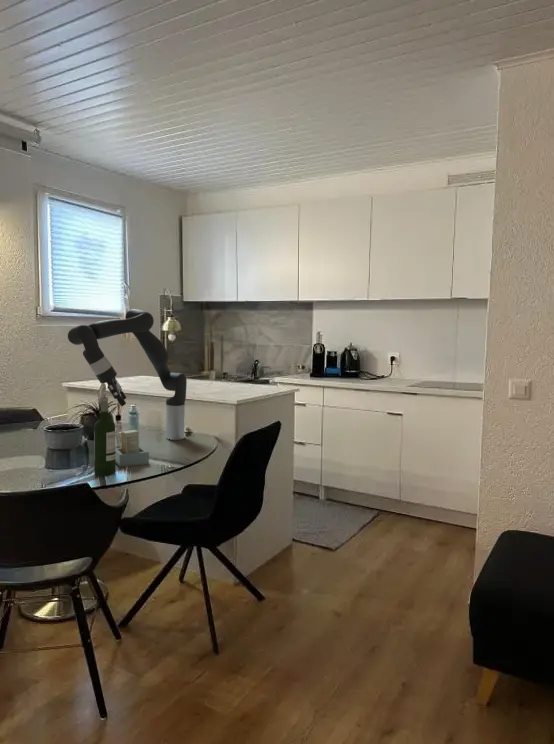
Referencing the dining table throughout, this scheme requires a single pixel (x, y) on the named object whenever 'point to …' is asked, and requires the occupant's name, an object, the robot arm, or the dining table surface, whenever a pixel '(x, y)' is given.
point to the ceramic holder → (131, 457)
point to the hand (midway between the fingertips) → (124, 402)
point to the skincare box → (130, 441)
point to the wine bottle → (104, 442)
